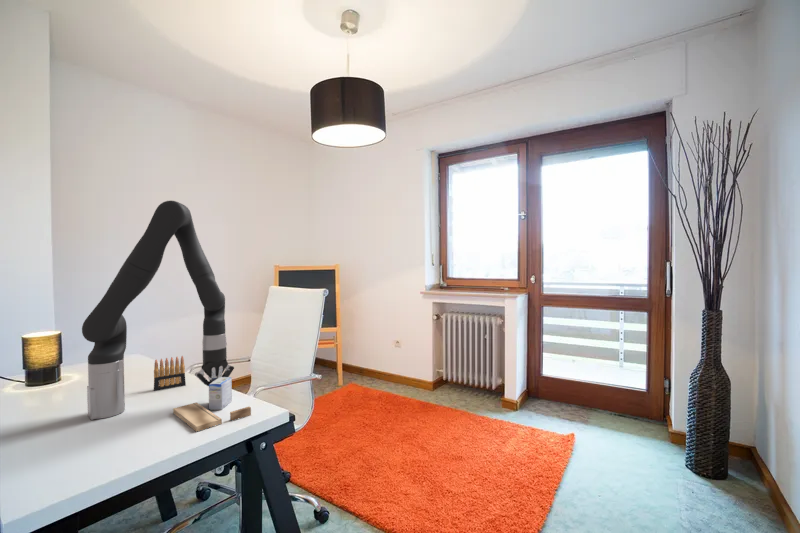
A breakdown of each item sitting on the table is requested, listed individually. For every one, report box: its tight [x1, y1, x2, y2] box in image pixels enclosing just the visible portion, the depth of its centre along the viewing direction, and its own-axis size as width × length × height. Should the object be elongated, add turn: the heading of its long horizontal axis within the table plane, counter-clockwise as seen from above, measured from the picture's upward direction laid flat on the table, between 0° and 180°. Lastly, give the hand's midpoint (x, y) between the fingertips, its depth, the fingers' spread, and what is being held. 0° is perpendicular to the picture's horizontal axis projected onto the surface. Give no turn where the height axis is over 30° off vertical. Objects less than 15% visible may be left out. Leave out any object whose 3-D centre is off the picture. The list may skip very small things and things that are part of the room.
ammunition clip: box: [153, 355, 187, 392], centre depth 148 cm, size 11×2×12 cm, turn 127°
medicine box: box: [208, 376, 233, 411], centre depth 127 cm, size 8×4×9 cm, turn 2°
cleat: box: [229, 406, 252, 421], centre depth 117 cm, size 6×1×2 cm, turn 137°
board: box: [172, 402, 223, 433], centre depth 117 cm, size 7×21×2 cm, turn 47°
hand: (215, 395), depth 131 cm, fingers closed
